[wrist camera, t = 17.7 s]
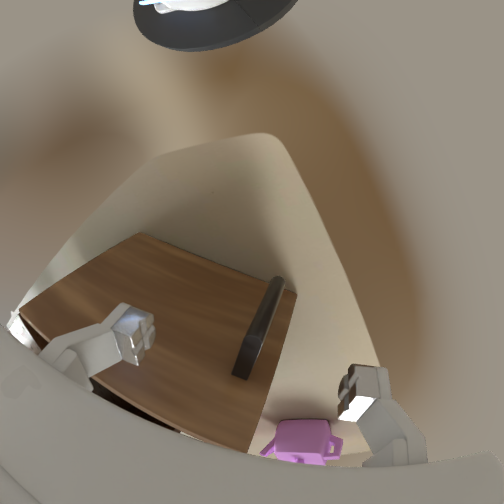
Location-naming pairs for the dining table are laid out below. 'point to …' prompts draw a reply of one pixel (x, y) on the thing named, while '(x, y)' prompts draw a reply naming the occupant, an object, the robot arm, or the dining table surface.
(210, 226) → the dining table surface
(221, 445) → the cupboard door
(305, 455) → the teapot
